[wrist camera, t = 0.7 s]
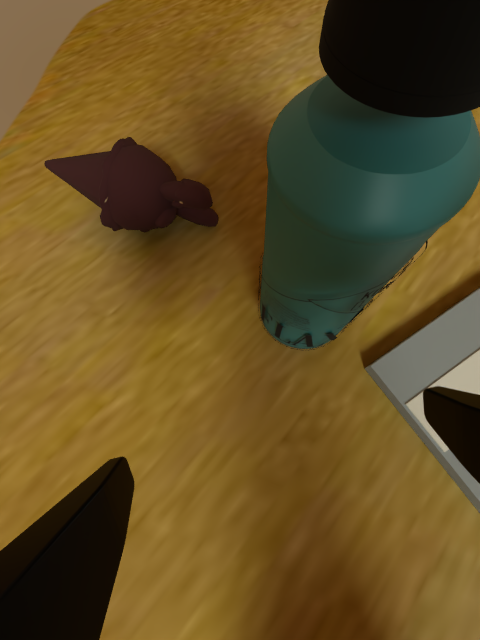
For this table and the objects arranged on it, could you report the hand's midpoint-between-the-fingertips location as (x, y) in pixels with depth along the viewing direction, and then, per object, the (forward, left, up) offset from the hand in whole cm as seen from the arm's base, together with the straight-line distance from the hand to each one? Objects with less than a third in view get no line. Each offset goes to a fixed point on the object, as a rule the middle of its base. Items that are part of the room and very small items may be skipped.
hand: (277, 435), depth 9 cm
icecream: (+21, -1, -13) cm, 25 cm away
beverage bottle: (+5, -7, -13) cm, 16 cm away
